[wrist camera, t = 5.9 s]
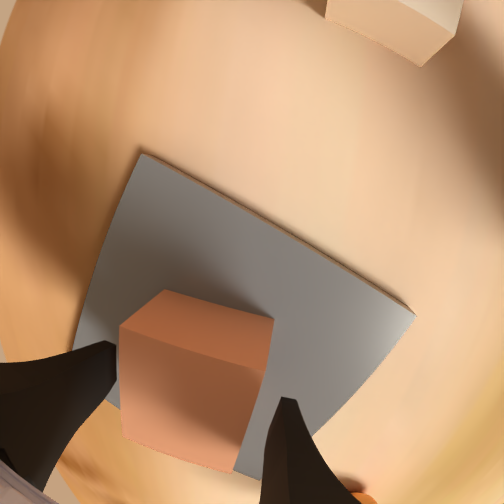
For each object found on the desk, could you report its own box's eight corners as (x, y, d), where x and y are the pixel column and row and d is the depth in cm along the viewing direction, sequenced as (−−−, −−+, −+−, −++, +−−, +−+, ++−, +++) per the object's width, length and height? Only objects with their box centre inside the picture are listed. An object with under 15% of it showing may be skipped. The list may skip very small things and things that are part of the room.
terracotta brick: (274, 319, 13) (265, 371, 9) (245, 417, 14) (231, 474, 10) (164, 289, 13) (119, 325, 9) (155, 389, 15) (122, 436, 11)
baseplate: (409, 307, 13) (416, 316, 12) (261, 469, 16) (259, 480, 15) (151, 155, 13) (141, 153, 12) (76, 363, 16) (68, 370, 15)
